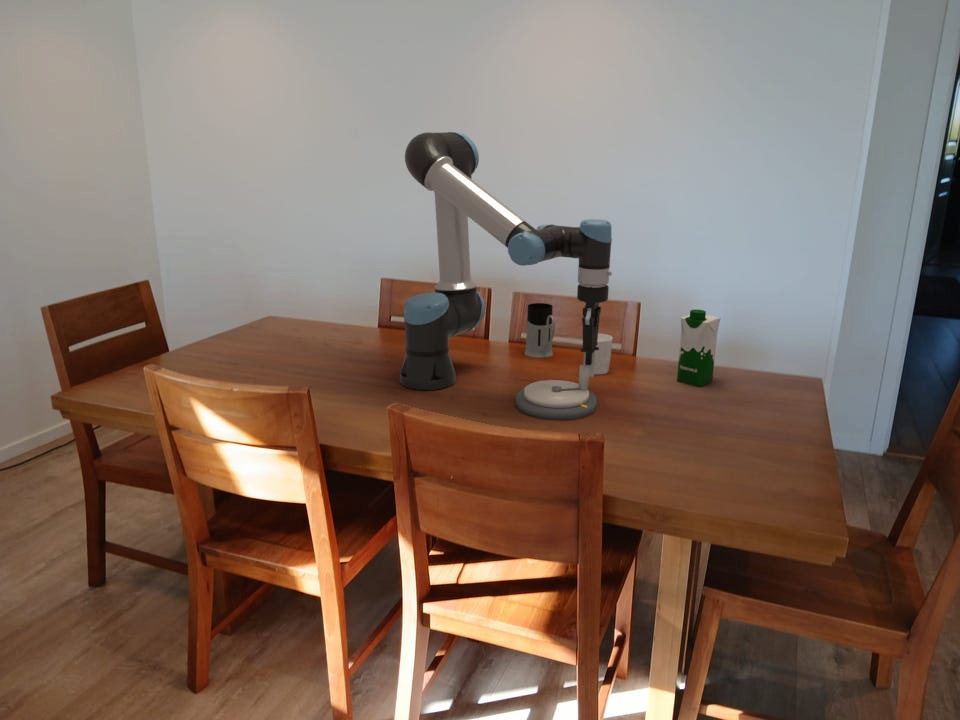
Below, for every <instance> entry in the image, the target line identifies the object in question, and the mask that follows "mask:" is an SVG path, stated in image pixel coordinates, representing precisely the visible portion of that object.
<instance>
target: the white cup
mask: <svg viewBox="0 0 960 720" xmlns="http://www.w3.org/2000/svg"><path fill="white" fill-rule="evenodd" d="M597 343H598V344H597V346H596V347H599V350H595V351H596V354H595V372H594V375H605V374H607V373H609V370H610V369H609V367H610V362H611V356H612V348H613V347H612V345H613V336H612V335H609V334H605V333H598V339H597Z"/></svg>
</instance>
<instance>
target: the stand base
mask: <svg viewBox="0 0 960 720" xmlns="http://www.w3.org/2000/svg"><path fill="white" fill-rule="evenodd" d="M524 389H525V387H524V388H522V389H520V390H519V391H518V392H517V393H516V395H515V407H516V408H517V409H518V410H519V411H520V412H522V413H524V414H526V415H528V416H530V417H535V418H539V419H543V420H544V419H545V420H556V421H566V420H568V421H569V420H577V419H581V418H584V417H588V416H589V415H592V414H593V413H594V412H596V410H597V405H598V398H597V395H596V394H594V393H593V392H592V391H590V390H589V399H588V401H587V402H586V403H584V404H582V405H580V406H576V407H570V408H550V407H543V406H539V405H535V404H533V403H530V402H529V401H527V400H526V399H525V397H524Z"/></svg>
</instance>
